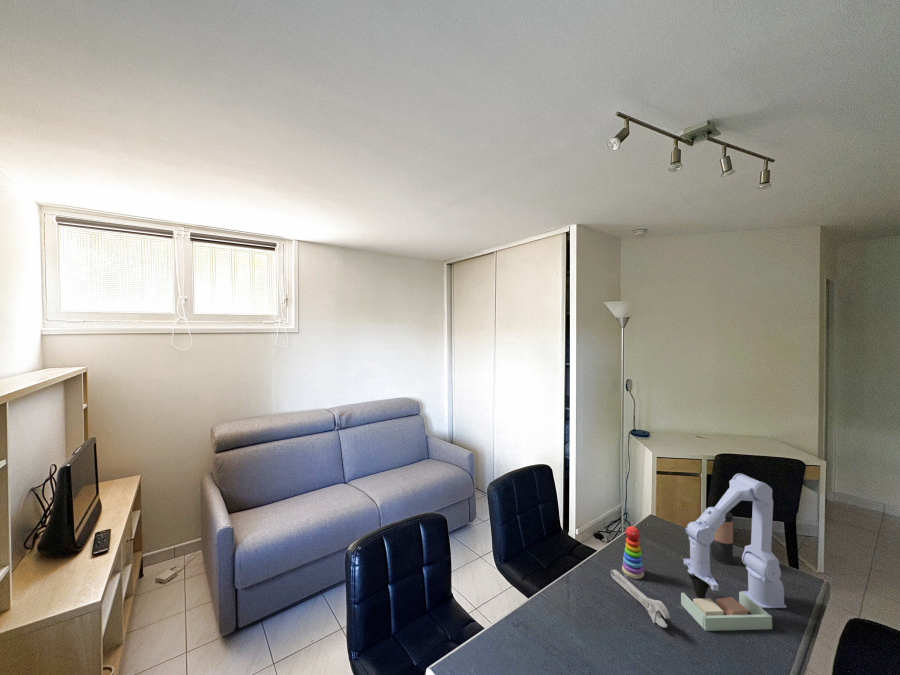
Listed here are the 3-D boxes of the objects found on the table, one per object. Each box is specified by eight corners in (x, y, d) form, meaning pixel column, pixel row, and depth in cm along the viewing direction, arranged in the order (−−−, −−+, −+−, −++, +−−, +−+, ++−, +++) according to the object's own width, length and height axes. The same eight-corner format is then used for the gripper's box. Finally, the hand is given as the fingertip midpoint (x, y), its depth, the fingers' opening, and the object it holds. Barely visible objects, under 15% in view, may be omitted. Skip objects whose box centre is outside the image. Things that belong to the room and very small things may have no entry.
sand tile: (709, 606, 124) (709, 598, 124) (723, 620, 118) (723, 611, 118) (693, 607, 124) (693, 598, 124) (706, 620, 118) (706, 611, 118)
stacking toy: (617, 570, 144) (616, 524, 144) (631, 565, 147) (630, 519, 147) (634, 582, 136) (634, 533, 137) (648, 576, 140) (648, 528, 140)
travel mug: (738, 564, 147) (737, 516, 147) (719, 564, 147) (718, 516, 147) (724, 553, 154) (723, 507, 155) (706, 553, 154) (705, 507, 155)
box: (742, 602, 125) (741, 591, 125) (772, 629, 114) (772, 616, 114) (681, 604, 125) (680, 592, 125) (705, 630, 113) (705, 618, 113)
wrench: (615, 583, 140) (672, 636, 111) (611, 583, 140) (666, 636, 111) (613, 561, 141) (669, 608, 112) (609, 562, 141) (664, 608, 112)
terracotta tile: (731, 605, 125) (731, 597, 125) (748, 618, 119) (747, 609, 119) (716, 607, 124) (716, 598, 124) (732, 620, 118) (732, 611, 118)
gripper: (675, 546, 132) (676, 583, 132) (703, 571, 118) (704, 612, 118) (693, 546, 133) (694, 582, 132) (724, 571, 118) (725, 612, 118)
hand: (700, 597), depth 125 cm, fingers closed
